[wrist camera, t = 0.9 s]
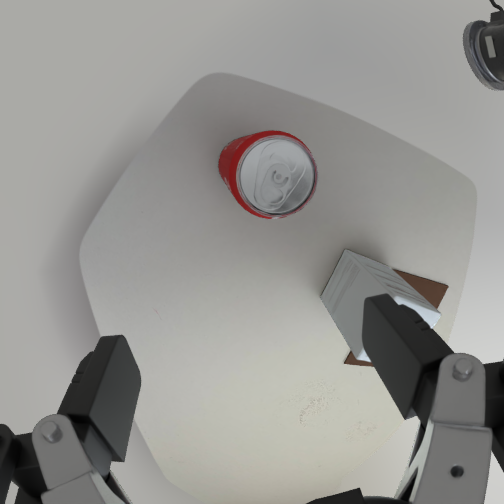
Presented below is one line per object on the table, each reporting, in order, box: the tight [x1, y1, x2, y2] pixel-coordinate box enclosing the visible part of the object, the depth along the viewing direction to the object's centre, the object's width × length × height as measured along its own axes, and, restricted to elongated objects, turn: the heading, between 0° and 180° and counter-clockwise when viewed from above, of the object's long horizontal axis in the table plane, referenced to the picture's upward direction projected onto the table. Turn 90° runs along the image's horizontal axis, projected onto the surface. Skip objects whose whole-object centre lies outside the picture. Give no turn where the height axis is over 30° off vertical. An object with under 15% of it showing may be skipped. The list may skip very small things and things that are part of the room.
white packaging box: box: [320, 249, 441, 362], centre depth 33 cm, size 7×7×13 cm
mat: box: [344, 269, 448, 367], centre depth 42 cm, size 16×12×1 cm
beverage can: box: [219, 131, 318, 219], centre depth 25 cm, size 6×6×15 cm
